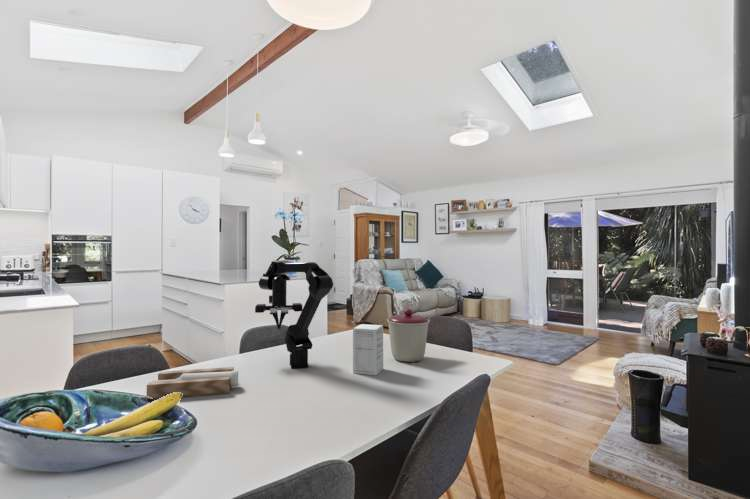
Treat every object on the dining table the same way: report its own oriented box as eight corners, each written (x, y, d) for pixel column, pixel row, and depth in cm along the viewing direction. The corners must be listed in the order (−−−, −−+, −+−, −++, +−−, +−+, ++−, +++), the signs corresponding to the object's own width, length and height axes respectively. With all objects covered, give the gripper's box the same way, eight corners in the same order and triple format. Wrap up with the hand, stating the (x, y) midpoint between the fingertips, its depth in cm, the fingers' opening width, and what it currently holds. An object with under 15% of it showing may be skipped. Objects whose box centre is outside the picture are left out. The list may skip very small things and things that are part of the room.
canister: (377, 358, 157) (378, 308, 157) (405, 351, 170) (406, 304, 170) (410, 368, 144) (411, 313, 145) (438, 359, 157) (438, 309, 157)
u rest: (233, 379, 129) (233, 367, 129) (228, 393, 117) (228, 379, 117) (160, 385, 124) (160, 371, 124) (146, 400, 111) (146, 385, 111)
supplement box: (383, 368, 144) (384, 324, 144) (376, 376, 135) (377, 329, 135) (360, 366, 146) (360, 323, 147) (352, 373, 138) (352, 327, 138)
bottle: (236, 374, 119) (149, 380, 113) (236, 389, 120) (150, 396, 114) (238, 367, 124) (155, 372, 118) (238, 381, 125) (156, 387, 119)
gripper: (301, 288, 164) (300, 324, 164) (257, 289, 160) (256, 325, 160) (302, 291, 153) (302, 329, 153) (255, 292, 149) (254, 331, 149)
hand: (279, 328), depth 154 cm, fingers closed
